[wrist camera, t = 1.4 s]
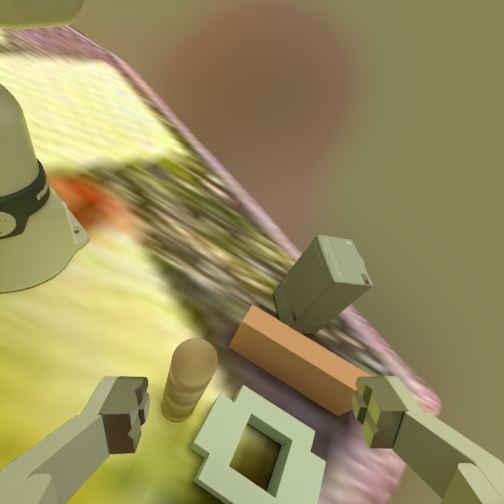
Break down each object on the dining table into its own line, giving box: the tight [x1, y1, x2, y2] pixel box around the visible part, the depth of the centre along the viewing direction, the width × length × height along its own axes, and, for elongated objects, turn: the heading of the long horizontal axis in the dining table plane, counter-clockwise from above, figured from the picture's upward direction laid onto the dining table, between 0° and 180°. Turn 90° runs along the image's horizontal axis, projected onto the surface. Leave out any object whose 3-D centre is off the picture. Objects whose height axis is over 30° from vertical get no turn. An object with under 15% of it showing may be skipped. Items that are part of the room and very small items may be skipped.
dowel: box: [162, 338, 218, 422], centre depth 29 cm, size 4×4×14 cm
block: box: [190, 385, 326, 504], centre depth 31 cm, size 10×14×4 cm
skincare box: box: [274, 235, 373, 334], centre depth 43 cm, size 8×7×16 cm
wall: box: [228, 305, 370, 416], centre depth 38 cm, size 3×18×8 cm, turn 64°
